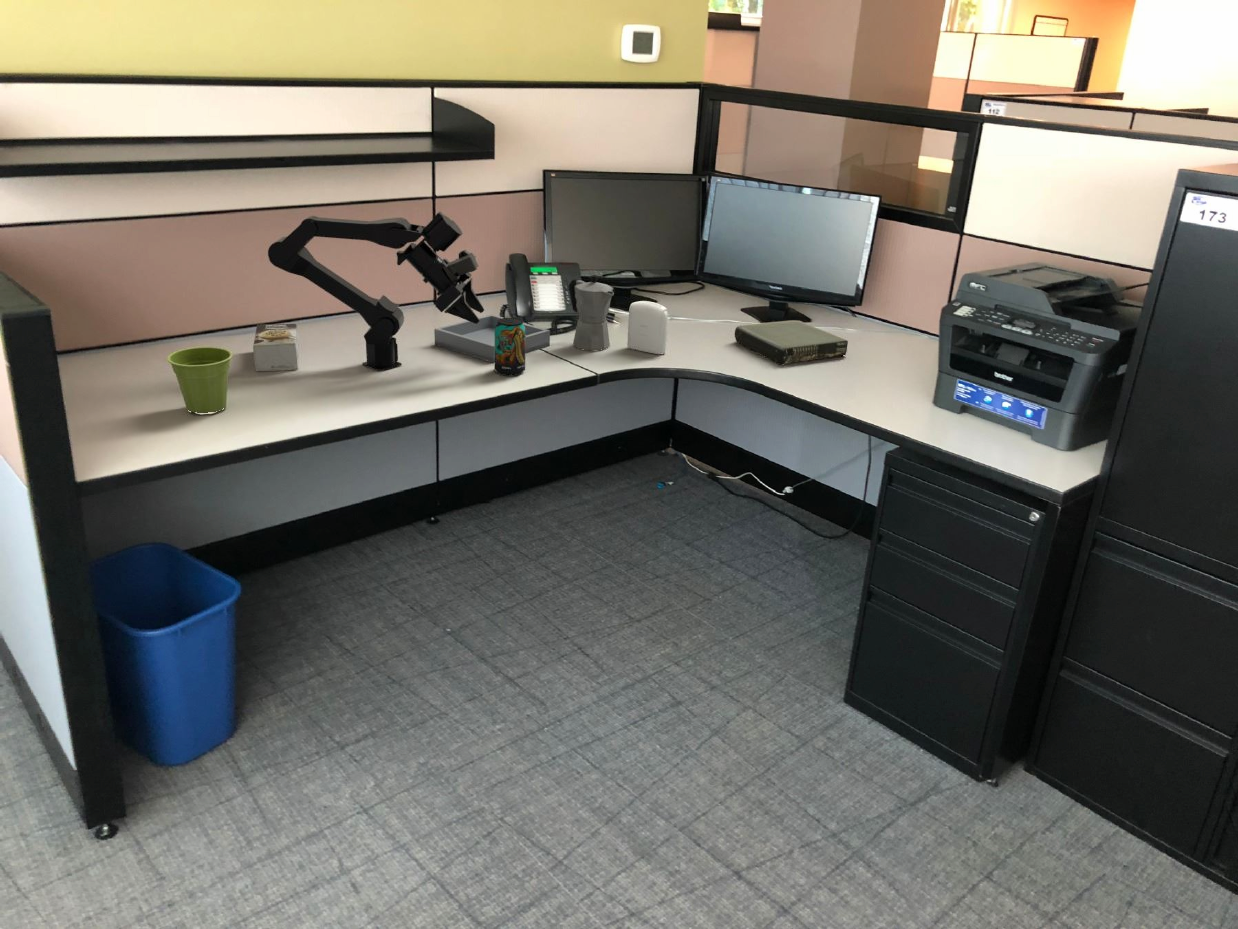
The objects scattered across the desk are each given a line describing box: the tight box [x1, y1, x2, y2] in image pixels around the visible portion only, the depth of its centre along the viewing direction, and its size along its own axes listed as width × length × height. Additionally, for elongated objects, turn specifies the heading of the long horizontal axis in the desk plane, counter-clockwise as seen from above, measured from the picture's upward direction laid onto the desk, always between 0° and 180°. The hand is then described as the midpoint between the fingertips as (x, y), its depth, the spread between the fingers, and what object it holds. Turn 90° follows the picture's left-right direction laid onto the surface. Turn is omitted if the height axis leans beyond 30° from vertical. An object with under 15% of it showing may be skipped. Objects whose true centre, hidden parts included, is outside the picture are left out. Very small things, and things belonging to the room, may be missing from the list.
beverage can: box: [493, 317, 526, 376], centre depth 230 cm, size 7×7×12 cm
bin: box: [434, 314, 551, 364], centre depth 250 cm, size 20×20×4 cm
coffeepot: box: [568, 274, 615, 352], centre depth 252 cm, size 15×9×18 cm, turn 45°
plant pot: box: [166, 346, 234, 413], centre depth 199 cm, size 12×12×11 cm
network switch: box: [734, 319, 849, 366], centre depth 260 cm, size 23×24×5 cm
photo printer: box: [626, 300, 669, 355], centre depth 251 cm, size 10×4×12 cm, turn 60°
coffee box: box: [252, 323, 300, 372], centre depth 230 cm, size 9×6×16 cm
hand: (480, 316), depth 228 cm, fingers open, 9 cm apart
